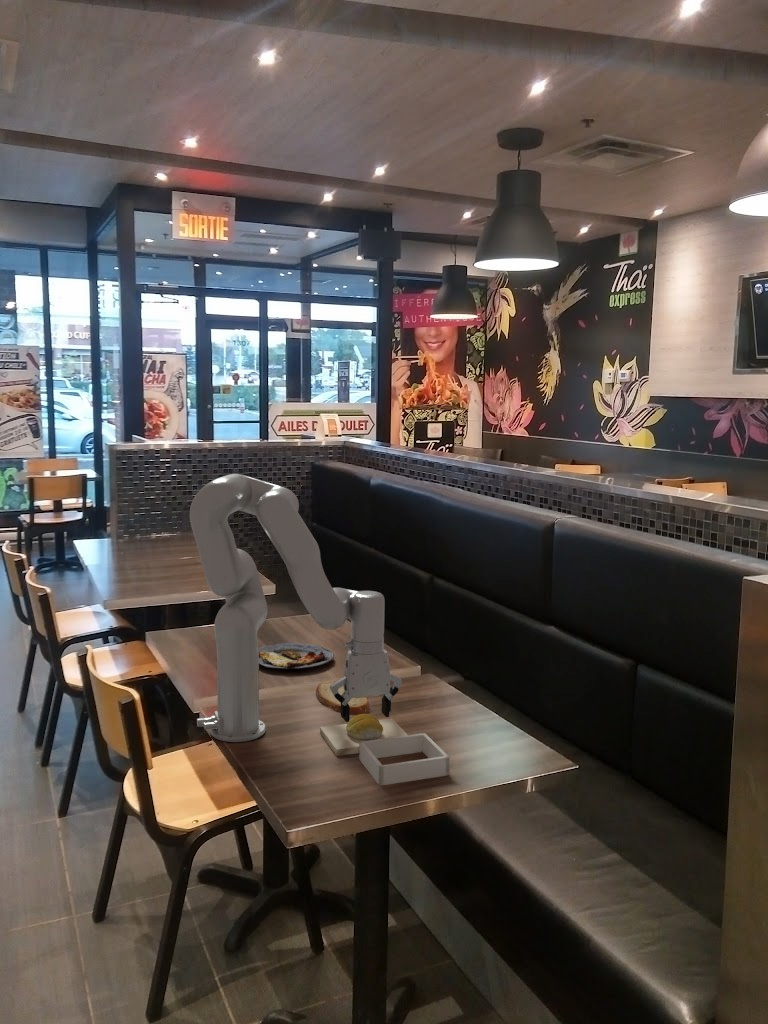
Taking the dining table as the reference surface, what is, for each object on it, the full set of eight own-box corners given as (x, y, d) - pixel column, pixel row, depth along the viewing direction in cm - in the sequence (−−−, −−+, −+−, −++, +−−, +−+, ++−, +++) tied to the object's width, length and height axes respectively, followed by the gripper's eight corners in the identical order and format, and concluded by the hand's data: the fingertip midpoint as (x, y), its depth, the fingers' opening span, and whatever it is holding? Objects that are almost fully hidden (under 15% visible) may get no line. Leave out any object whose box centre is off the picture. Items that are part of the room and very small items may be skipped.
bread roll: (376, 724, 197) (377, 708, 196) (385, 739, 188) (386, 722, 188) (342, 726, 195) (342, 710, 194) (350, 742, 186) (350, 725, 186)
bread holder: (379, 785, 169) (380, 767, 168) (358, 759, 181) (359, 741, 181) (449, 775, 174) (449, 757, 174) (424, 749, 187) (424, 733, 186)
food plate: (347, 665, 243) (347, 654, 242) (276, 680, 230) (276, 668, 229) (306, 645, 263) (306, 635, 263) (238, 658, 250) (238, 647, 250)
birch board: (336, 756, 182) (336, 749, 182) (320, 733, 194) (320, 727, 194) (412, 745, 189) (412, 739, 188) (391, 724, 201) (391, 718, 201)
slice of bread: (365, 717, 205) (365, 703, 205) (299, 707, 211) (299, 693, 211) (388, 693, 222) (388, 680, 222) (326, 684, 228) (326, 671, 227)
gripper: (335, 654, 182) (334, 728, 184) (408, 647, 188) (406, 719, 190) (326, 644, 189) (325, 715, 191) (396, 637, 195) (394, 707, 197)
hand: (365, 717), depth 191 cm, fingers open, 9 cm apart
